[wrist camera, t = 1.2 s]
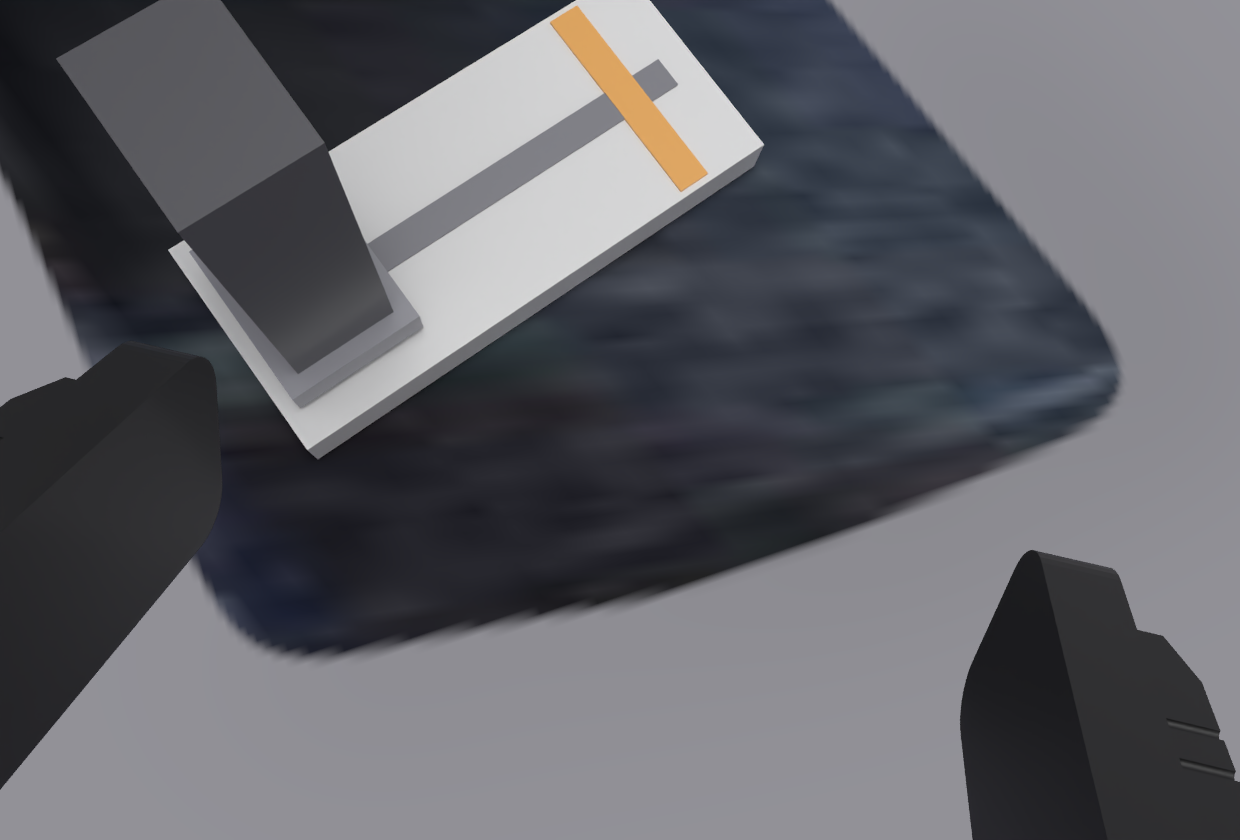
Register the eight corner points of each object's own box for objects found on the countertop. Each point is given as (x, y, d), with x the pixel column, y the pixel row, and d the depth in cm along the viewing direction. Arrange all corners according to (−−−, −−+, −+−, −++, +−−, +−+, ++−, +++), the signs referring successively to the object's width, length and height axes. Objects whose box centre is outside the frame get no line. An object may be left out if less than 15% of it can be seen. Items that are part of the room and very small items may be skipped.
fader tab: (200, 264, 30) (16, 51, 19) (323, 188, 31) (212, -58, 20) (300, 408, 29) (167, 270, 19) (423, 327, 30) (364, 149, 19)
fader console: (185, 268, 32) (166, 248, 30) (621, -2, 35) (626, -32, 33) (317, 459, 31) (306, 449, 29) (753, 166, 34) (764, 142, 32)
